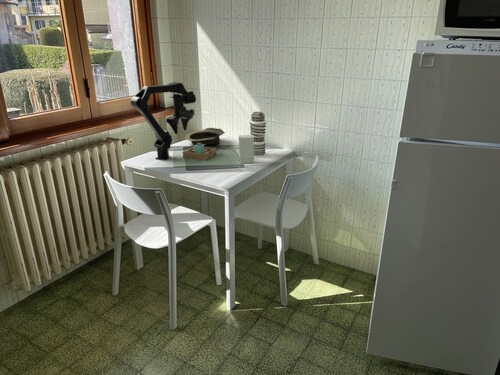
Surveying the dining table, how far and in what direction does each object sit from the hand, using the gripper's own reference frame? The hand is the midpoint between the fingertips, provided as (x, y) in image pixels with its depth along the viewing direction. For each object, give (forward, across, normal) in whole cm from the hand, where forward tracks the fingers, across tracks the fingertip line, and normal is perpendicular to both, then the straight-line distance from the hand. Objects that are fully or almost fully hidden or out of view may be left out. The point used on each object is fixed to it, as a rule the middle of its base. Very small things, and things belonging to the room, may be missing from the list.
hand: (180, 132), depth 224 cm
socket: (+13, 0, -12) cm, 18 cm away
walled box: (+13, 0, -12) cm, 18 cm away
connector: (+12, 0, -12) cm, 17 cm away
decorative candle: (+13, +14, -43) cm, 47 cm away
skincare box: (+13, 0, -42) cm, 44 cm away
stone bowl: (+13, +22, -2) cm, 26 cm away
